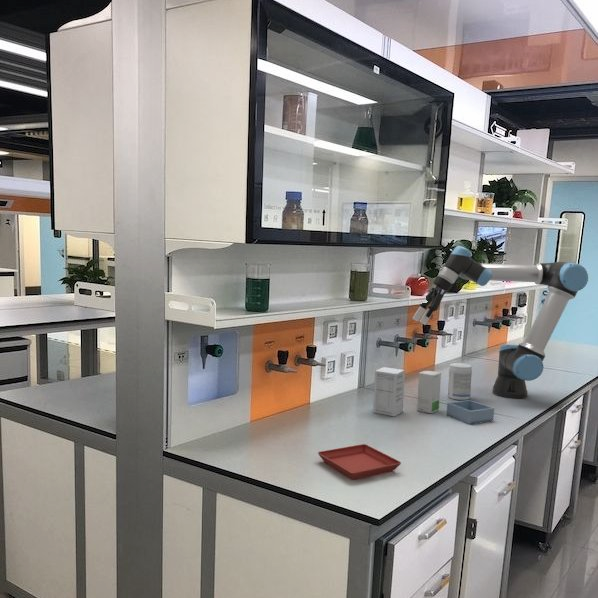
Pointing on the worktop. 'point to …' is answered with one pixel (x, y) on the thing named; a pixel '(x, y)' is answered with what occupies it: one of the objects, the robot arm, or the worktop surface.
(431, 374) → the skincare box
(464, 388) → the supplement tub
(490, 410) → the crate
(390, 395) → the supplement box
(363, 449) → the plant saucer
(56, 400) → the worktop surface
